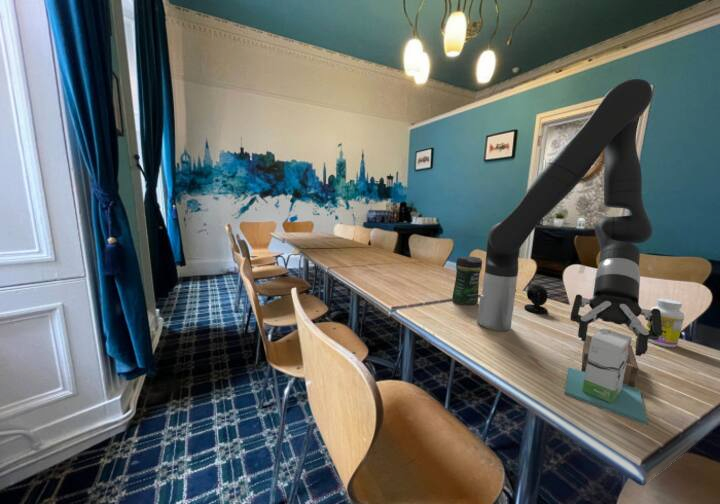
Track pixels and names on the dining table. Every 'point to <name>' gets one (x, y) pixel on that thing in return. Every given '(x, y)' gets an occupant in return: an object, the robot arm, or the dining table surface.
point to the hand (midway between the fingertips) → (609, 346)
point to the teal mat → (623, 404)
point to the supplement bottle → (668, 322)
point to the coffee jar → (467, 280)
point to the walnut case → (630, 366)
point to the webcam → (537, 299)
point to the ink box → (606, 364)
